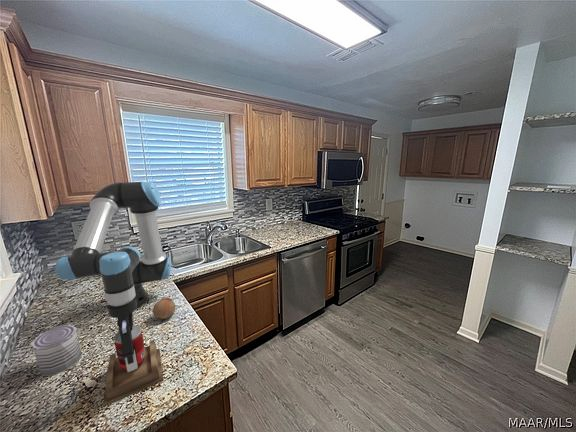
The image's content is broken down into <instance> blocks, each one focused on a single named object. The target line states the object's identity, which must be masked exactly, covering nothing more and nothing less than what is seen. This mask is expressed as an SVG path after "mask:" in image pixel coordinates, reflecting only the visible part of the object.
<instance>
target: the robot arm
mask: <svg viewBox="0 0 576 432" xmlns="http://www.w3.org/2000/svg"><path fill="white" fill-rule="evenodd" d="M161 205H162V200H161V195H160V191H159V188H158V186H157V185H156V183H154V182H152V181H132V182H131V181H130V182H129V181H128V182H114V183H110V184H108V185H106V186H104V187H102V188H101V189H100V190H99V191H97V193H95V194H94V196H92V199H91V200H90V202H89V208H90V210H89V213H88V215H87V218H86V219H85V222H84V224H83V227H82V229H81V231H80V234H79V236H78V238H77V241H76V244H74V247H73V250H72V252H71V254H70V255H67V256H63V257H60V258H59V259H58V260H57V261H56V263H55V268H54V269H55V273H56V276H57V278H58V279H60V280H63V281H64V280H78V279H82V278H83V279H84V278H88V277H95V276H101V280H102V284H103V289H104V293H105V294H103V295H102V296H103V298H106V299H105V300H106V304H107V311H108V315H109V316H110V317H111V318H116V319H117V320H116V323H117V326H118V332H119V333H120V337H121V343H122V349H123V355H121V357H124V358H125V362H126V367H127V372H130V371H132V370H135V369H137V368H138V367H137V361H136V356H135V350H134V349H133V341H132V333H131V331H132V329H133V326H134V318H133V315H134V314H133V312H135V311H136V310H137V308H138V306H139V307H141V306H142V305H144V304H145V303H146V302H147V301H148V300H149V296H148V293H147V291H146V289H145V288H144V286H143V284H146V283H150V282H151V283H152V282H156V281H160V282H161V281H163V280H167V279H169V278H170V276H171V270H172V269H171V268H172V267H171V266H172V258H171V256H167V253H166V252H164V251H163V247H162V241H161V240H162V239H161V236H160V235H161V234H160V230H159V225H158V217H157V214H156V213H157V211H158V210H159V207H160V206H161ZM128 208H129V211H130V213H131V214H133V215H134V216H135V221H136V226H137V229H138V234H139V238H140V243H141V248H142V253H143V257H142V254H141V252H140V251H139V249H138V248H137V247H134V246H126V247H123V248H120V249H119V250H113V251H107V252H106V251H105V252H101V251H102V249H103V246H104V242H105V240H106V238H107V233H108V232H109V231H108V230H109V228H110V225H111V222H112V218H113V216H114V215H115V214H116V213H117V212H118V210H119V209H128ZM141 257H142V258H141ZM147 299H148V300H147ZM140 305H141V306H140Z"/></svg>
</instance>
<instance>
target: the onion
mask: <svg viewBox="0 0 576 432" xmlns="http://www.w3.org/2000/svg"><path fill="white" fill-rule="evenodd" d="M175 311H176V304H175V302H174V301H173V299H172V298H171V297H167V296H166V297H164V298H162V299H160V300H158V301H157V302H155V304H154V306H153V308H152V314H153V316H154V317H155V318H157V319H158V320H162V321H163V320H167V319H169V318H171V317H172V316H173V315H174V314H175Z"/></svg>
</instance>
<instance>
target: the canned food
mask: <svg viewBox="0 0 576 432" xmlns="http://www.w3.org/2000/svg"><path fill="white" fill-rule="evenodd" d="M133 325H134V324H133ZM131 333H132V341H133V349H134V350H135V356H136V361H137V366H139V365H140V364H141V363H142V362H143V361H144V359H145V355H146V353H145V347H146V346H145V343H144V336H143V330H142V327H141V326H140V325H134V326H133V329H132V331H131ZM113 342H114V347H115V354H116V358H118V363H119V366H120V368H121V369H123V370H127V367H126V362H125V358H124V357H121V355H123V349H122V343H121V337H120V333H119V331H117V332H116V333H115V334H114V336H113Z"/></svg>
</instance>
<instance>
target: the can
mask: <svg viewBox="0 0 576 432" xmlns="http://www.w3.org/2000/svg"><path fill="white" fill-rule="evenodd" d="M77 329H78V328H77V327H76V326H74V325H73V324H72V323H71V324H70V323H69V324H64V325H56V326H54V327H52V328H50V329H48V330H46V331H44V332H42V333H40V334H38V335H37V336H36V338H35V339H33V341H31V343H30V346H31V347H32V350H33V352H34V357H35V360H36V363H37V367H38V371H39V373H40V375H41V376H42V377H52V376H55V375H58V374H60V373H63V372H66V371H67V370H69V369H70V368H72V367H73V366H74V365H76V364H77V363H79V361H80V359H81V358H82V356H83V355H82V350H81V345H80V342H79V341H80V340H79V338H78V334H77V333H78V332H77Z"/></svg>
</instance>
